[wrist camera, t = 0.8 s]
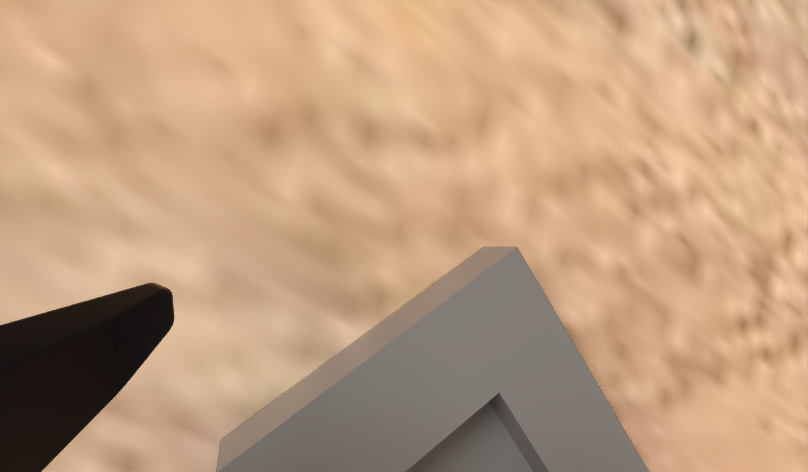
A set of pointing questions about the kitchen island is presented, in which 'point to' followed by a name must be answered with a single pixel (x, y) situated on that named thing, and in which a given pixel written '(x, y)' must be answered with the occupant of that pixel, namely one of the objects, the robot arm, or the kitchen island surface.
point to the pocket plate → (446, 391)
